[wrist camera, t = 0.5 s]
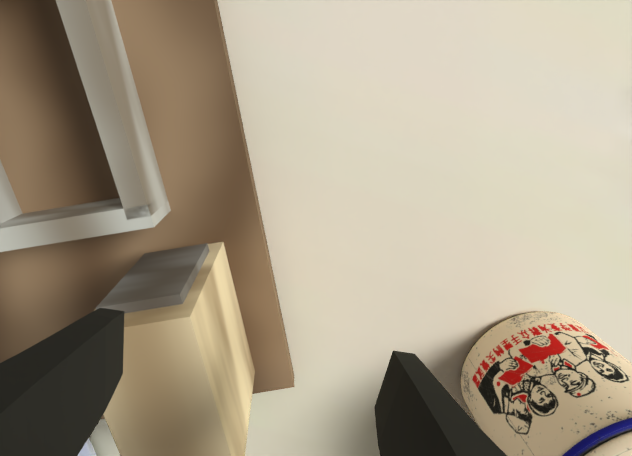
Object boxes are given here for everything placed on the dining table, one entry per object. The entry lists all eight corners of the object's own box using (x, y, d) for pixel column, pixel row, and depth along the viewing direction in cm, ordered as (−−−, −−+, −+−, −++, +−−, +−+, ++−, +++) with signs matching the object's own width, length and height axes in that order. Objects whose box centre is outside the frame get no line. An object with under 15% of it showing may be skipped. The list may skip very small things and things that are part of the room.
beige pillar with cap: (185, 383, 22) (141, 504, 16) (141, 247, 20) (66, 325, 13) (255, 371, 22) (240, 488, 16) (221, 234, 20) (186, 306, 13)
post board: (30, 419, 24) (-70, 545, 17) (-266, -173, 14) (-735, -397, 8) (294, 375, 24) (295, 483, 17) (168, -237, 15) (68, -509, 8)
